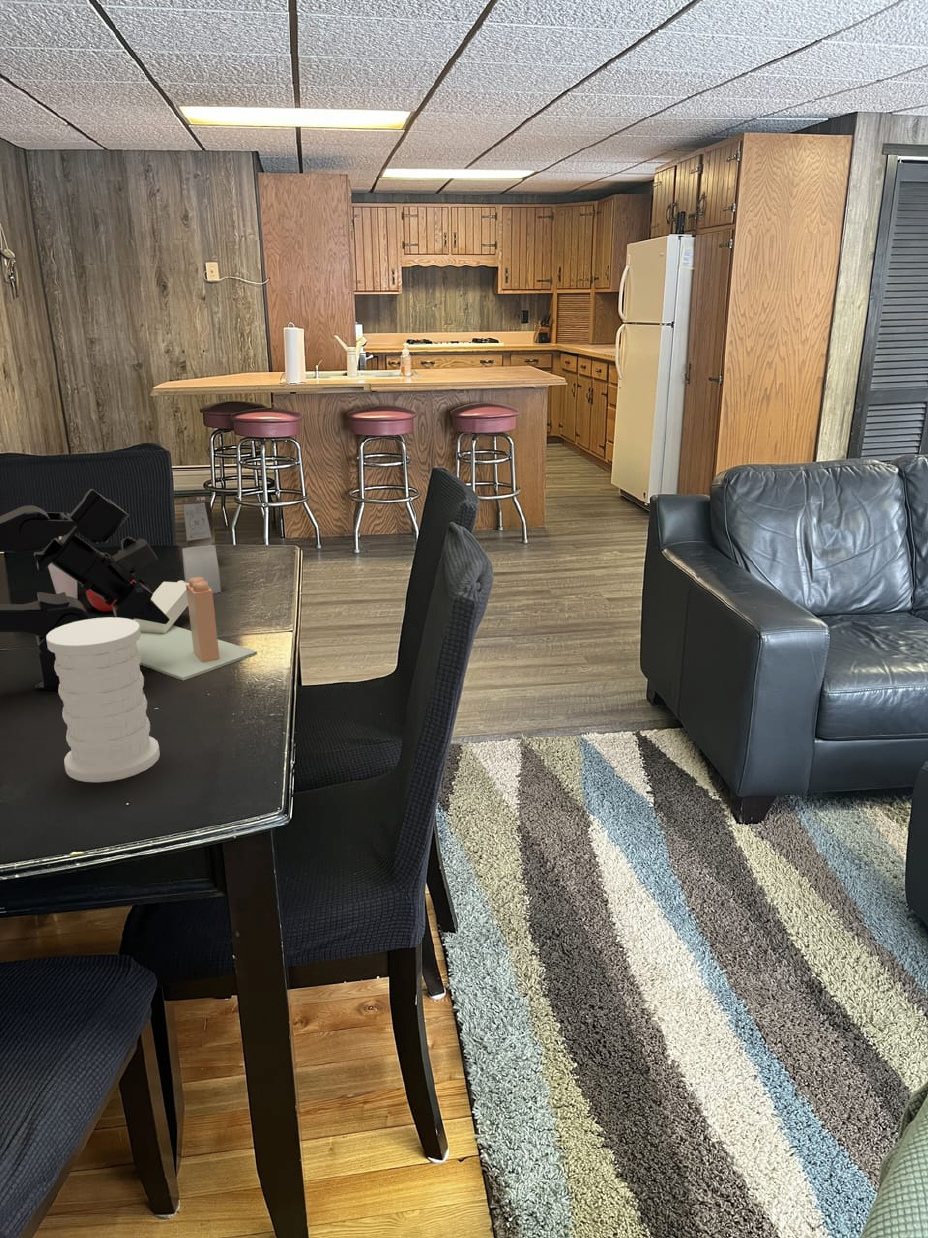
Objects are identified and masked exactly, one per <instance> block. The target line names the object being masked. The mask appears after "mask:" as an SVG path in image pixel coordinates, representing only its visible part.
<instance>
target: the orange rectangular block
mask: <svg viewBox="0 0 928 1238" xmlns="http://www.w3.org/2000/svg"><path fill="white" fill-rule="evenodd" d="M186 590H187V598H188V606H187V607H188V612H189V613H188V614H189V615H188V616H189V622H190V624H189V625H190V631H191V633H192V641H193V650H194V652H195V654H196V655H197V657H198V658H199V659H200V661H201V662H205V661H210V660H216V659H220V658H219V649H218V632H217V631H218V630H217V621H216V613H215V612H216V611H215V604H214V596H213V594H214V593H212V590H211V589H210V588H209V587H208V582H207V581H204V578H203V577H192V578H189V584H188V585H186Z"/></svg>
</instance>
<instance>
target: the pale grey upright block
mask: <svg viewBox="0 0 928 1238" xmlns="http://www.w3.org/2000/svg"><path fill="white" fill-rule="evenodd" d="M216 549H217V548H216V544H215V545H210V546H201V547H191V548H187V547H184V548H183V547H182V549H181V551H182V563H183V564H182V565H183V573H184V582H186V583H189V578H192V577H203V578H204V581H207V582H208V587H209V588H210V589H211V590H212V593H213V594H218V592H220V593H222V588H221V578H220V568H219V562H218V561H219V560H218V555H217V550H216Z"/></svg>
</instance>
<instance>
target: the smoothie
mask: <svg viewBox="0 0 928 1238" xmlns="http://www.w3.org/2000/svg"><path fill="white" fill-rule="evenodd" d="M62 537H63V536H60V537H58V539H59V540H60V539H61V538H62ZM47 569H48V570H49V574H50V578H51V581H52V584H53V588H54V592H55V594H59V593H62V592H65V593H66V596H70V597H74V598H76V599H77V600H78V582H77V581H76V580H75V579H73V578H72V577H70V576H69V575H67V574H66V573H64V572H63V571H61V570H60V569H58V568H57V567H55V566H54V565H52V564H51V563H50V565H49V566H48V567H47Z"/></svg>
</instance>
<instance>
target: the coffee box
mask: <svg viewBox="0 0 928 1238" xmlns="http://www.w3.org/2000/svg"><path fill="white" fill-rule="evenodd" d="M181 504H182V513H183V521H184V530H185V537H186V538H185V540H186V546H187V547H186V548H191V547H201V546H210V545H215V546H216V541H215V539H216V538H215V530H214V522H213V521H214V519H213V511H212V510H213V509H212V501H211V498H210V495H197V496H196V495H194V496H186V497H182V502H181Z"/></svg>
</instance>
